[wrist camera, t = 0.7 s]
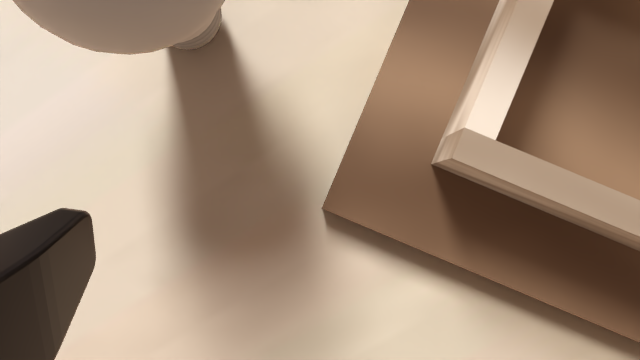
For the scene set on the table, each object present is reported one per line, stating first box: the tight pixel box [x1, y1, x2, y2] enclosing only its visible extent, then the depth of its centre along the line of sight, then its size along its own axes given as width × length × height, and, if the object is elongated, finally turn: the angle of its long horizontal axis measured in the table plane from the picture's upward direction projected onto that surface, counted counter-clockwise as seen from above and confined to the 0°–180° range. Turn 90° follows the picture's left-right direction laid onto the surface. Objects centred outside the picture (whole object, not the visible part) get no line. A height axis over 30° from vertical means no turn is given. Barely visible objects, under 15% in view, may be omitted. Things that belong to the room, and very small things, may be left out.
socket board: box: [322, 0, 640, 343], centre depth 20 cm, size 16×16×4 cm
